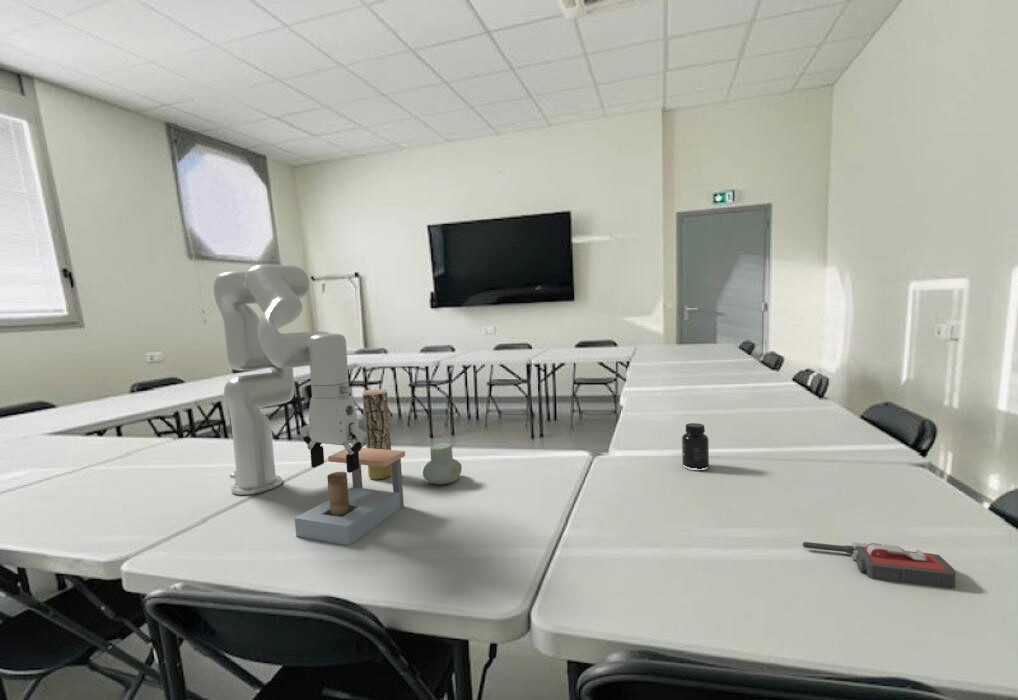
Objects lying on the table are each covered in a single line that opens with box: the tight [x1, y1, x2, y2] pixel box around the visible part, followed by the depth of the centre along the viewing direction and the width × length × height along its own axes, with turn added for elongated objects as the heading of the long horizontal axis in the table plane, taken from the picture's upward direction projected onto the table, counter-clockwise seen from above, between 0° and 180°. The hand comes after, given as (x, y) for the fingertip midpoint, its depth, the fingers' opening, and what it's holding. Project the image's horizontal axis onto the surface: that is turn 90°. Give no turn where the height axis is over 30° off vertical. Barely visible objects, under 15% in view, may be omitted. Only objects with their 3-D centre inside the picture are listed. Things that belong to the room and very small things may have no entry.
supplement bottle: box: [681, 422, 710, 469], centre depth 129 cm, size 7×7×12 cm
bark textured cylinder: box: [362, 388, 392, 480], centre depth 133 cm, size 7×7×25 cm
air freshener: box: [422, 442, 462, 486], centre depth 127 cm, size 11×8×10 cm
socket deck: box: [294, 447, 406, 546], centre depth 105 cm, size 16×20×14 cm
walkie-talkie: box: [802, 541, 956, 589], centre depth 78 cm, size 9×4×20 cm
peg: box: [326, 471, 350, 517], centre depth 102 cm, size 4×4×12 cm
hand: (335, 468), depth 101 cm, fingers open, 9 cm apart
